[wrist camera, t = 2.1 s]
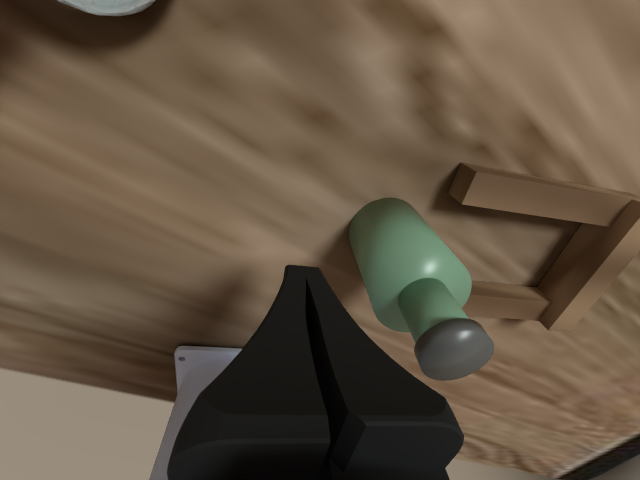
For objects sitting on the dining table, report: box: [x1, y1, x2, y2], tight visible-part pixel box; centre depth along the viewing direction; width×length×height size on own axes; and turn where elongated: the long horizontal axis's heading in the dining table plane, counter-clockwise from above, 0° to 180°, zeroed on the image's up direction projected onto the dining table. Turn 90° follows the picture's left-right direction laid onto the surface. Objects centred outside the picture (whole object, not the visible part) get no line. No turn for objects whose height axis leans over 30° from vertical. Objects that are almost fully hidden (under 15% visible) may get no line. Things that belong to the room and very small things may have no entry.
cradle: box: [448, 163, 640, 332], centre depth 19 cm, size 10×12×2 cm
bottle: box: [349, 198, 494, 380], centre depth 14 cm, size 4×4×9 cm
